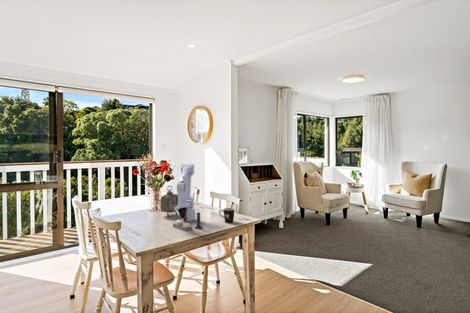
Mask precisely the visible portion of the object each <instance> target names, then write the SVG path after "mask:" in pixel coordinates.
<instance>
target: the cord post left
mask: <svg viewBox="0 0 470 313" xmlns="http://www.w3.org/2000/svg"><path fill="white" fill-rule="evenodd" d="M183 221H185V222H186V223H189V222H188V221H187V213H186V212H185V216H184V218H183Z"/></svg>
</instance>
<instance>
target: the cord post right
mask: <svg viewBox="0 0 470 313" xmlns="http://www.w3.org/2000/svg"><path fill="white" fill-rule="evenodd" d="M194 229H196V230H202V229H203V226H202V225H201V212H200V211H199V212H196V226H194Z"/></svg>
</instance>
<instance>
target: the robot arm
mask: <svg viewBox="0 0 470 313" xmlns="http://www.w3.org/2000/svg"><path fill="white" fill-rule="evenodd" d="M180 173H181V176H180V177H179V181H178V183H177V184H176V191H177V194H178V205H177V206H176V207H174V210H177V213H178V214H179V216H180V221H183V218H184V216H185V212H186V213H187V221H188V223H189V222H192V221H197V218H196V209H195V208H194V207H195V199H194V198H193V197H192V196H191V189H192V187H191V186H192V185H191V184H192V176H195V165H194V164H193V163H191V164H190V163H189V164H181V165H180Z"/></svg>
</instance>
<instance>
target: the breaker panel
mask: <svg viewBox="0 0 470 313" xmlns="http://www.w3.org/2000/svg"><path fill="white" fill-rule="evenodd" d="M180 221H181V219H178V220H174V223H172V227H173V228H176V229H179V230H181V231H183V232H189V231H192V230H193V226H192V225H190V224H191V223H189V222H188V223H183V225H179V222H180Z"/></svg>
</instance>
